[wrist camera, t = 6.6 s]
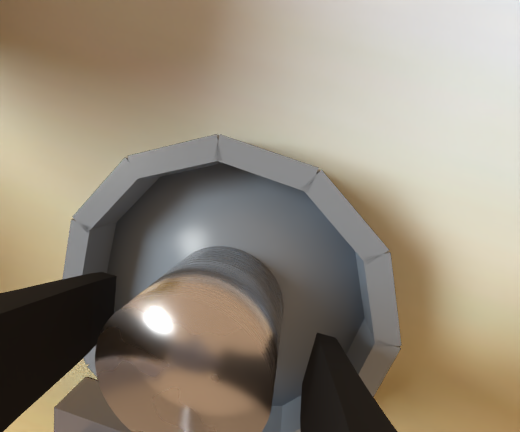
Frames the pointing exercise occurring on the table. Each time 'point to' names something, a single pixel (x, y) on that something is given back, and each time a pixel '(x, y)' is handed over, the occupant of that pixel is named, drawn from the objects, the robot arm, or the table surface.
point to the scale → (86, 411)
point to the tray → (248, 248)
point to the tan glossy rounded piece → (195, 347)
